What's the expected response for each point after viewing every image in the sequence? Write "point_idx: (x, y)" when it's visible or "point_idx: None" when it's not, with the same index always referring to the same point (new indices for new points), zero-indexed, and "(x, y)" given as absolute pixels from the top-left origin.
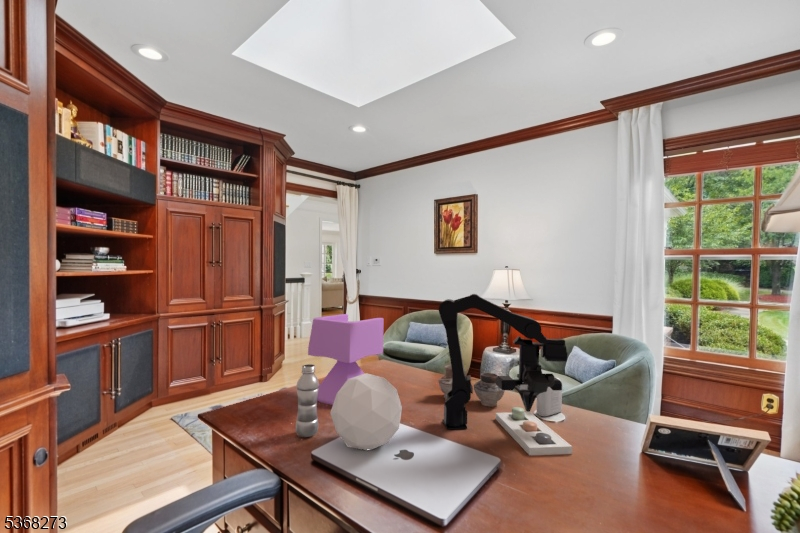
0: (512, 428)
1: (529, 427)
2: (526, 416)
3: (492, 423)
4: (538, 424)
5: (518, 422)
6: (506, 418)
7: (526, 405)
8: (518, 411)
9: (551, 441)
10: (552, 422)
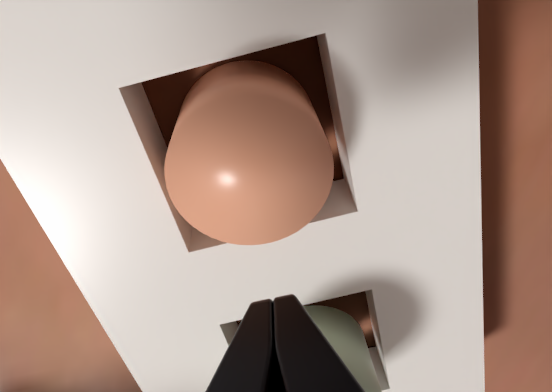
0: (459, 99)
1: (273, 93)
2: None
3: (519, 279)
4: (140, 254)
5: (340, 259)
6: (431, 316)
7: (336, 361)
8: None
9: None
10: (17, 385)
